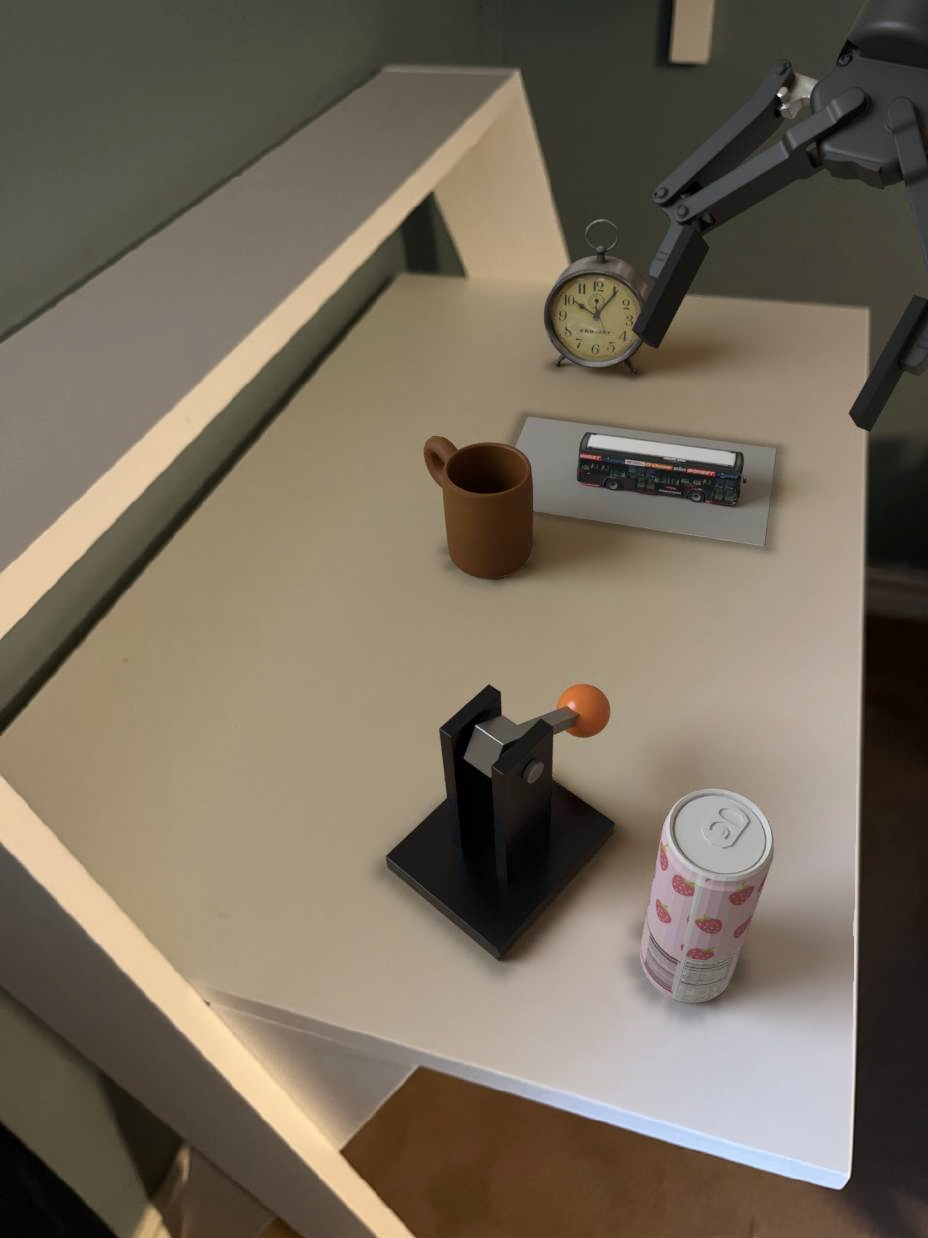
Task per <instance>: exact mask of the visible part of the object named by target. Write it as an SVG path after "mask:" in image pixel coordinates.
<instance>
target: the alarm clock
mask: <svg viewBox="0 0 928 1238" xmlns="http://www.w3.org/2000/svg"><path fill="white" fill-rule="evenodd" d="M600 223H601V224H603V223H604V224H606V225H609V226H610V227H612V228H613V229H614V232H615V235H616V236H615V241H614V243H613V244H612V245H611V246H610V247H608V248H606V247H605V246H604V245H599V246H594V245H593V244H592V243H591V242H590V238H589V232H590V230H591V228H592V227H594V226H595V225H597V224H600ZM584 233H585V234H584V236H585V241H586V243H587V244H588V246H589V247H590V248H591V249H592V250H594V251H595V252H596V255H591V256H586V257H582V258H581V259H578V260H575V262H573V263H571V264H569V265H568V266H567V267H566V268H565V269H564V270H563V271H561V273H560V274H559V276H558V278H557V279H556V281H555V282H554V284H553V286H552V288H551V290H550V292H549V294H548V295H547V297H546V300H545V304H544V308H543V325H544V329H545V332H546V335H547V337H548V339H549V341H550V344H551V345H552V346H553V347H554V349H556V351H557V352H558V353H559V354H560V355H559V357H557V359H556V360H555V361H554V366H555V367H559V366H560V365H561V363H562V362H563V361H564V360H568V361H569V362H571V363H573V364H575V365H578V366H581V367H583V368H589V369H608V368H612V367H613V368H614V367H616V366H619V365H621V364H623V363H624V365H625V366H627V368H628V369H629V371H630V372H631V374H632V375H637V373H638V369H637V368H636V367H635V366H634V364H633V361H632V359H631V358H632V357H633V356H634V355H635V354H636V353H637V352H638V351H639V349H640V348H641V347H642V345H643V343H644V342H643V341H642V340H641V339H640V338H639V337H638V336H637V335H636V334H635V333H634V332H633V331H632V328H633V326H634V324H635V322H636V320H637V318H638V316H639V314H640V312H641V310H642V308H643V306H644V304H645V302H646V300H647V298H648V296H649V294H650V292H651V290H650V287H649V285H648V283H647V281H646V278H644V276H643V275H642V274H641V273H640V272H639V270H637V269H636V268H635V267H634V266H632V265H631V264H630V263H628V262H626V261H625V260H622V259H620V258H618V257H614V256H611V255H605V254H606V252H609V251H612V250H613V249H615V247H616V246H617V245H618V242H619V239H620V231H619V228H618V227H617V226H616V224H615V223H613V221H611V220H608V219H605V218H600V219H596V220H593V221H592V222H591V223H589V225H588V226H587V227H586V229H585V231H584Z"/></svg>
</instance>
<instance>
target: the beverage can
mask: <svg viewBox="0 0 928 1238" xmlns="http://www.w3.org/2000/svg"><path fill="white" fill-rule="evenodd" d="M774 842H775V839H774V833H773V829H772V826H771V824H770V821H769V820H768V817H766V815H765V814H764V813H763V811H762V810H761V809H760V808H759V807H758V806H757V805H756V804H755V803H754V802H752V801H751V800H749V799H748V798H747V797H745V796H743V795H741V794H738V793H736V792H733V791H730V790H727V789H722V788H703V789H699V790H695V791H693V792H690V793H688V794H686V795H684V796H683V797H681V798H679V800H677V801H676V802H675V804H674V805H673V807H672V808H671V809H670V811H669V813H668V815H667V816H666V818H665V821H664V823H663V826H662V830H661V836H660V841H659V846H658V852H657V857H656V862H655V868H654V872H653V878H652V883H651V889H650V894H649V899H648V902H647V903H648V904H647V909H646V915H645V918H644V919H645V920H644V923H643V924H644V925H643V931H642V935H641V941H640V947H639V956H640V957H639V959H640V963H641V966H642V970H643V972H644V974H645V975H646V977H647V979H648V980H649V981H650V982H651V984H652V985H653V986H654V987H655V988H656V989H657V990H658V991H659V992H661V993H662V994H664V995H666V996H667V997H669V998H671V999H673V1000H677V1001H678V1002H683V1003H690V1004H693V1003H703V1002H707V1001H711V1000H712V999H713V998H716V997H718V996H719V995H721V993H723V992H724V991H725V990H726V989H727V987H728V986H729V984H730V982H731V980H732V977H733V975H734V972H735V970H736V966H737V963H738V960H739V957H740V955H741V953H742V949H743V947H744V943H745V941H746V937H747V935H748V932H749V929H750V926H751V923H752V920H753V917H754V914H755V911H756V909H757V906H758V904H759V900H760V898H761V894H762V892H763V889H764V886H765V883H766V880H767V877H768V875H769V871H770V868H771V866H772V863H773V860H774V852H775V851H774V850H775V847H774V845H775V843H774Z"/></svg>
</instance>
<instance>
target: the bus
mask: <svg viewBox="0 0 928 1238" xmlns="http://www.w3.org/2000/svg"><path fill="white" fill-rule="evenodd" d="M514 447H515V448H516V449H518V450H520V451H521V452H523V453H524V454H525V455H526V457H527V458H528V459H529V461H530V464H531V468H532V479H533V512H536V513H537V512H538V513H543V514H550V515H557V516H564V517H568V518H569V517H571V518H577V519H584V520H591V521H598V522H603V523H608V524H617V525H623V526H631V527H636V528H641V529H650V530H656V531H662V532H668V533H675V534H680V535H681V534H682V535H689V536H694V537H695V536H696V537H702V538H708V539H716V540H722V541H727V542H728V541H729V542H735V543H742V544H749V545H754V546H761V547H765V543H766V537H767V535H766V534H767V529H768V528H767V527H768V520H769V519H768V518H769V512H770V504H771V495H772V488H773V479H774V473H775V472H774V471H775V463H776V454H777V448H775V447H768V446H759V445H752V444H744V443H736V442H729V441H722V440H721V441H720V440H712V439H704V438H698V437H697V438H696V437H689V436H682V435H675V434H673V435H672V434H666V433H660V432H659V433H658V432H651V431H643V430H635V429H628V428H627V429H626V428H620V427H612V426H604V425H598V424H597V425H596V424H589V423H580V422H575V421H574V422H573V421H565V420H559V419H550V418H542V417H534V416H527V417H526V420H525V422H524V425H523V427H522V429H521V432H520V434H519V437H518V439H517V442H516V443H515V446H514Z"/></svg>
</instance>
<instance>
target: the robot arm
mask: <svg viewBox="0 0 928 1238" xmlns="http://www.w3.org/2000/svg"><path fill="white" fill-rule="evenodd" d="M805 107H810V113H811V115H810V116H808V117H806V118H805V119H803V120H802V121H800V122H799V123H797V124H795V125H793V126H792V127H790V128H788V129H787V130H786V131H785V132H784V134H783V136H782V137H781V139H780V140H779V141H777V142H776V143H774V144H773V145H771V146H770V147H767V148H766V149H765V150H763V151H761V152H760V153H758V154H756V155H755V156H754V157H752V158H750V159H748V158H749V157H750V156H751V155H753V153H754V152H755V151H756V150H758V149H759V148H760V147H761V146H762V145H763V144H765V142H766V141H768V140H769V138H771V137H772V136H773V134H775V132H777V131H778V130H779V128H780V127H781V126H782V125H783V123H784V122H785V120H786V119H787V120H793V119H795V118H796V117H797V115H798V112H799V111H800V110H801V109H803V108H805ZM814 143H815V147H813V148H811V149H808V150H807V148H808V147H809V146H811V145H812V144H814ZM747 159H748V160H747ZM746 160H747V161H746ZM744 161H746V162H744ZM824 170H826V171H827V172H828V173H829V176H830V177H831V178H832V177H833V178H836V179H840V180H843V181H845V180H846V181H847V180H848V181H849V180H851V181H852V180H859V181H861V182H863V183H864V184H866V185H867V186H869V187H871V188H874V189H878V190H885V189H886V187H889V186H894V185H897V184H900V183H901V182H904V185H905V190H906V193H907V197H908V202H909V205H910V210H911V213H912V217H913V221H914V224H915V229H916V231H917V232H916V233H917V237H918V240H919V245H920V248H921V252H922V256H923V260H924V263H925V267H926V272H927V273H928V0H864V2H863V4H862V6H861V8H860V9H859V12H858V14H857V15H856V18H855V20H854V21H853V23H852V25H851V27H850V29H849V31H848V33H847V35H846V37H845V38H844V40H843V44H842V46H841V48H840V52H839V54H838V56H837V58H836V61H835V63H834V64H833V66H832V67H831V68H830V69H829V70H828V72H827V73H825V75H823V76H822V77H821V78H819V80H818V79H816V78H813V77H810V76H807V75H804V74H802V73H798V72H796V70H795V69H794V67H793V64H792V62H791V61H790V60H788V59H785V58H783V59H779V60H777V61H776V62H774V64H773V65H772V66H771V67H770V69H768V72H767V73H766V75H765V77H764V78H763V80H762V82H761V83H760V85H759V87H758V88H757V90H756V91H755V93H754V95H752V97H750V98H749V99H748V100H747V101H746V102H745V103H744V104H743V105H742V106H740V108H739V109H738V110H737V111H735V112H734V113H733V114H732V115H731V116H730V117H729V118H728V119H727V120H726V121H725V122H723V123H722V125H721V126H719V127H718V128H717V129H716V131H714V132H713V133H712V134H710V136H709V137H708V138H707V139H706V140H704V142H702V143H701V144H700V145H699V146H698V147H697V148H696V149H695V150H694V151H693V152H692V153H691V154H690V155H689V156H687V157H686V158H685V159H684V160H683V161H682V162H681V163H680V164H679V165H678V166H677V167H676V168H675V169H673V170H672V171H671V173H669V174H668V175H667V176H666V177H665V178H664V179H663V180H662V181H661V182H660V183H659V184H657V186H655V188H654V189H653V192H652V194H651V195H652V200H653V202H654V203H655V205H656V206H657V207H658V208H659V210H660V211H661V212H662V215H664V217H665V218H666V219H667V220H668V221H670V223H669V227H668V228H667V231H666V233H665V236H664V238H663V240H662V241H661V243H660V246H659V247H658V250H657V251H656V253H655V255H654V257H653V259H652V261H651V263H650V265H649V269H648V270H649V271H648V277H650V278H651V280H652V281H653V282H654V284H653V286H652V288H651V290H650V294H649V296H648V298H647V300H646V302H645V304H644V306H643V308H642V310H641V312H640V314H639V316H638V318H637V320H636V322H635V324H634V326H633V328H632V331H633V332H634V333H635V334H636V335H637V336H638V337H639V338H640V339H641V340H642V341H643V343H644V344H645V345H646V346H647V347H651V348H653V349H655V350H659V349H660V346H661V344H662V342H663V341H664V339H665V336H666V335H667V333H668V330H669V328H670V326H671V325H672V322H673V320H674V319H675V318H676V315H677V313H678V311H679V309H680V307H681V305H682V304H683V301H684V299H685V298H686V295H687V293H688V292H689V290H690V287H691V285H692V284H693V281H695V277H696V276H697V274H698V271H699V270H700V268H701V266H702V264H703V262H704V260H705V258H706V257H707V254H708V252H709V251H710V248H711V247H710V246H709V244H708V243H707V242H706V240H705V239H704V236H705V235H708V234H709V233H711V232H712V231H714V230H715V229H717V228H719V227H720V226H722V225H724V224H725V223H727V222H729V221H730V220H733V219H734V218H735V217H737V216H739V215H740V214H742V213H744V212H745V211H747V210H749V209H750V208H752V207H754V206H756V205H757V204H759V203H760V202H762V201H764V200H766V199H767V198H769V197H770V196H772V195H774V194H775V193H777V192H779V191H781V190H782V189H784V188H785V187H788V186H790V185H791V184H793V183H794V182H796V181H797V180H807V179H809V178H811V177H814V176H815V175H817V174H818V173H821V171H824ZM910 299H911V300H910V301H909V303H908V305H907V306H906V308H905V310H904V312H903V313H902V316H901V318H900V319H899V321H898V323H897V325H896V327H895V328H894V330H893V332H892V334H891V335H890V337H889V339H888V341H887V343H886V344H885V346H884V348H883V350H882V351H881V354H880V355H879V357H878V359H877V360H876V363H875V364H874V366H873V368H872V369H871V372H870V374H869V375H868V377H867V379H866V380H865V382H864V384H863V386H862V388H861V389H860V391H859V393H858V395H857V397H856V399H855V401H854V402H853V403H852V406H851V408H850V409H849V411H848V415H849V417H850V418H851V420H852V421H853V423H854V424H855V426H856V427H857V428H859V429H860V430H864V431H866V432H869V433H871V431H872V430H873V428H874V426H875V424H876V423H877V420H878V419H879V417H880V415H881V414H882V412H883V410H884V408H885V406H886V404H887V403H888V401H889V399H890V398H891V396H892V394H893V392H894V390H895V388H896V387H897V385H898V384H899V381H900V379H901V377H902V376H903V374H904V372H905V373H909V374H911V375H915V376H917V377H920V376H921V375H923V373H925V372H926V371H927V370H928V298H925V297H922V296H919V295H916V294H913V296H912V298H910Z"/></svg>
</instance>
